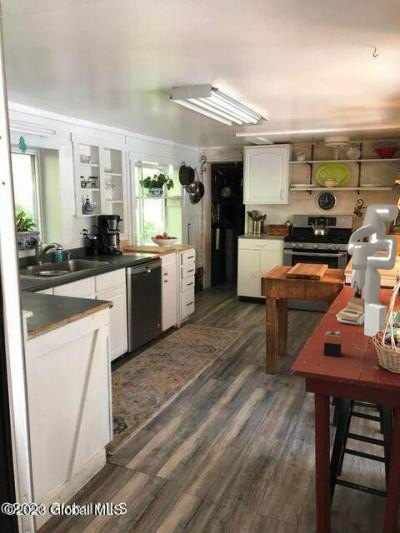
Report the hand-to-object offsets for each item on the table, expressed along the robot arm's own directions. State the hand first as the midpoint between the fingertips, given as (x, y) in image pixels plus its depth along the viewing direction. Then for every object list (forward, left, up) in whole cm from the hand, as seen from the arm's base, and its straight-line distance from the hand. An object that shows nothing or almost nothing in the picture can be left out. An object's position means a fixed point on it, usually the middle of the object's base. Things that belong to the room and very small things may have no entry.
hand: (357, 300), depth 233 cm
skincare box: (+26, +16, -9) cm, 32 cm away
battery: (+61, +8, -10) cm, 63 cm away
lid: (+10, 0, -6) cm, 12 cm away
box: (+4, 0, -9) cm, 10 cm away
